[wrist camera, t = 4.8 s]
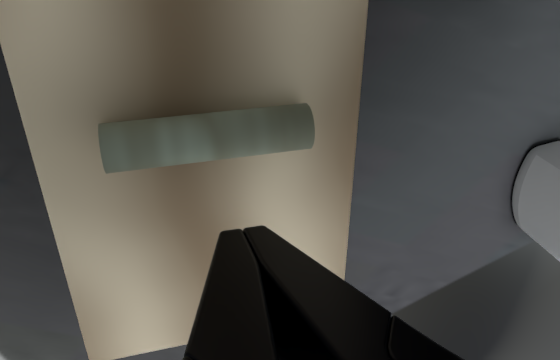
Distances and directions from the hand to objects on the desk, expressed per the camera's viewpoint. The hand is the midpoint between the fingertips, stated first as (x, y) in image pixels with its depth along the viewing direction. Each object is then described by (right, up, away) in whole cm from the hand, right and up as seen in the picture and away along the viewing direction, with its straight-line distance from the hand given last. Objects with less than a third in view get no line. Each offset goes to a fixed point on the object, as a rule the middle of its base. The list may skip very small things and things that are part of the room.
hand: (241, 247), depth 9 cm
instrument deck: (-2, +5, +6) cm, 8 cm away
